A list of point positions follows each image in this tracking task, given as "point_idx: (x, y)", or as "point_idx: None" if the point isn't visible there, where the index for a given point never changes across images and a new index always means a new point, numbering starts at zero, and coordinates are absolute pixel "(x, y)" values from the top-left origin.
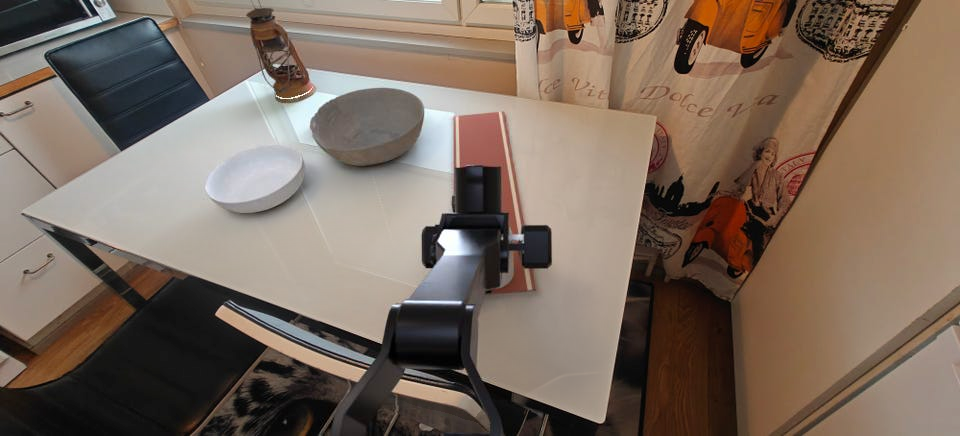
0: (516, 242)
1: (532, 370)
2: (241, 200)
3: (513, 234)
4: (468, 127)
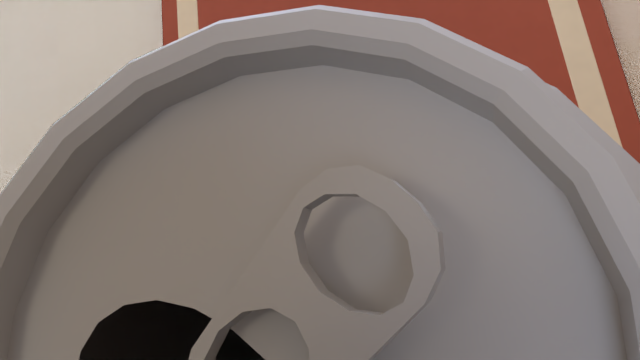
0: (544, 76)
1: None
2: None
3: (514, 15)
4: None
